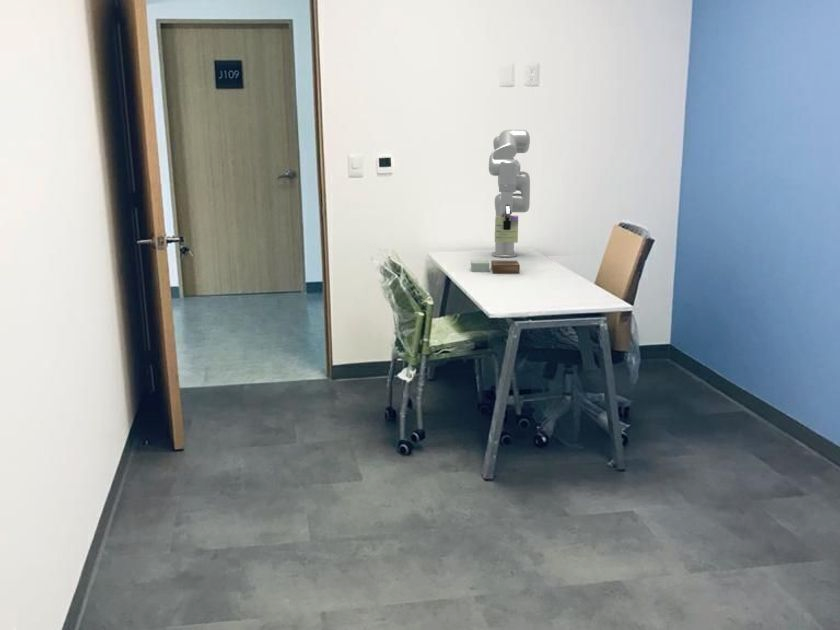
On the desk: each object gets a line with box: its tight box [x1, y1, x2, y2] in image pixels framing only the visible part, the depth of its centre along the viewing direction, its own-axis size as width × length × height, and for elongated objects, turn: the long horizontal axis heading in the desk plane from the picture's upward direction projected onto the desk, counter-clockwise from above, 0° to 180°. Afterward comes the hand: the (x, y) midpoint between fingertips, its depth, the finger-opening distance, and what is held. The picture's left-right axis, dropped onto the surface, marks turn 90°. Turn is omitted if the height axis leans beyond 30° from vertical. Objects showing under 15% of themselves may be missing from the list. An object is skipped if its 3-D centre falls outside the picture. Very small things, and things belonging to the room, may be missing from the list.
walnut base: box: [490, 259, 521, 275], centre depth 368 cm, size 12×12×4 cm
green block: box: [470, 259, 490, 273], centre depth 370 cm, size 8×8×4 cm
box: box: [494, 214, 519, 244], centre depth 363 cm, size 10×6×12 cm, turn 84°
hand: (506, 228), depth 363 cm, fingers closed on box, 5 cm apart
